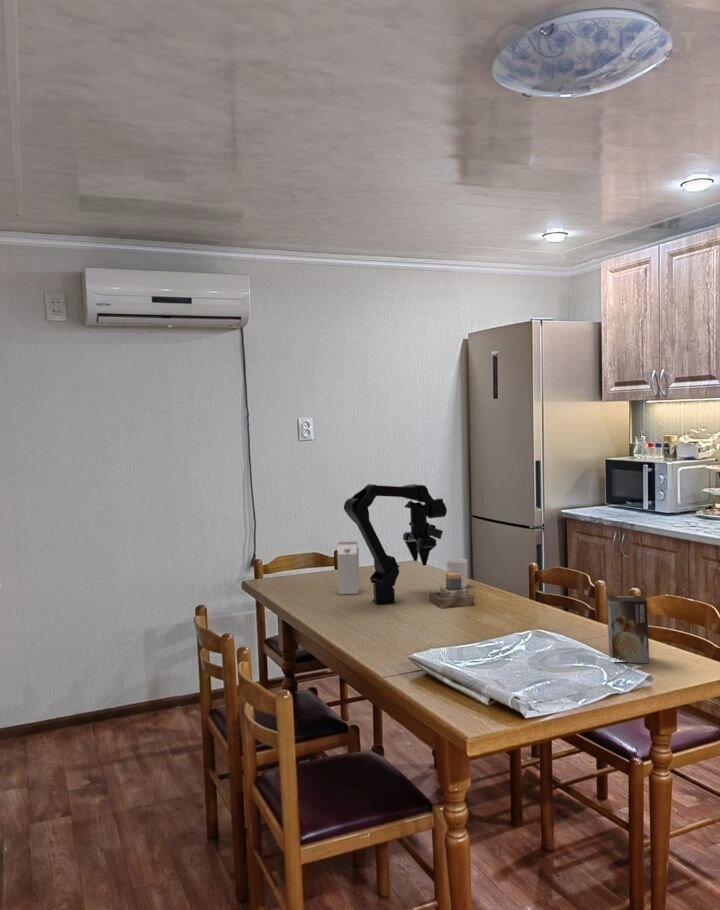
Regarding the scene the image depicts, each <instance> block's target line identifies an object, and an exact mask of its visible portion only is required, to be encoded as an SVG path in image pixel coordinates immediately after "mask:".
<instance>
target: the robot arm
mask: <svg viewBox="0 0 720 910" xmlns="http://www.w3.org/2000/svg"><path fill="white" fill-rule="evenodd" d="M428 489H429V488H428V487H427V486H426V485H423V484H414V483H413V484H406V485H403V486H401V485H400V486H398V485H397V486H395V485H379V484H378V485H377V484H373V483H371V484H366V486H364V487H363V488H362V489H361V490H360V491H358V492H357V493H355V494H354V495H353V496H352V497H350V498H348V499H346V500H345V502H344V505H343V510H344V512H345V513H346V515H347V516H348V517H349V519H351V520H352V521H353V523H354V524H356V525H357V528H358V530H359V531H360V534H361V536H362V538H363V540H364V542H365V543H366V546H367V547H368V550H369V552H370V554H371V555H372V558H373V566H374V569H375V571H374V572H373V574H372V575H371V576H370V578H369V579H370V582H371V584H372V585H373V586H372V587H373V588H372V591H373V599H371V601H372V602H374V603H375V604H376V605H385V604H395V603H396V601H395V600H396V599H395V598H396V597H395V588H394V586H395V585H396V581H397V578H398V577H399V574H400V569H399V568H400V565H399V564H398V563H397V560H396V557H394V556H392V555H389V554H387V553H386V550H385V549H384V547H383V545H382V543H381V540H380V538H379V537H378V535H377V533H376V531H375V529H374V526H373V525H372V523H371V520H370V511H369V507H370V506H371V505H372V504H373V502H374V500H375V499H376V497H394V498H404V499H407V500H408V502H407V503H406V504H405V505H404V508H407V509H410V512H409V513H410V521H409V522H408V525H409V526H410V531H406V532H404V533H403V534H402V539H403V541H404V544H405V545H406V547H407V549H408V551H409V553H410V555H411V557H412V559H413V561H414V562H417V561H418V558H420V561H421V564H422V566H426V565H427V563H428V559H429V555H430V553H431V550H433V549H434V548H435V547H437V540H436V539H439V540H441V538H442V535H443V532H444V531H443V529H439V528H437V527H436V525H434V524H431V523H429V522H427V521H428V520H427V518H428V519H437V518H444V517H445V516H446V515H447V512H448V511H447V510H448V509H447V507H446V504H445V502H444V499H443V498H436V499H434V498H433V497H432V496H431V494H430V492H429V490H428ZM414 501H416V502H414ZM418 556H419V557H418Z"/></svg>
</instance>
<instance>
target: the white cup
mask: <svg viewBox="0 0 720 910" xmlns="http://www.w3.org/2000/svg"><path fill="white" fill-rule="evenodd" d="M456 572H457V573H459V574H461V586H462V587H464V588H466V589H467V586H468V582H467V580H468V559H465V558H450V559H447V560H446V573H456Z"/></svg>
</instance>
